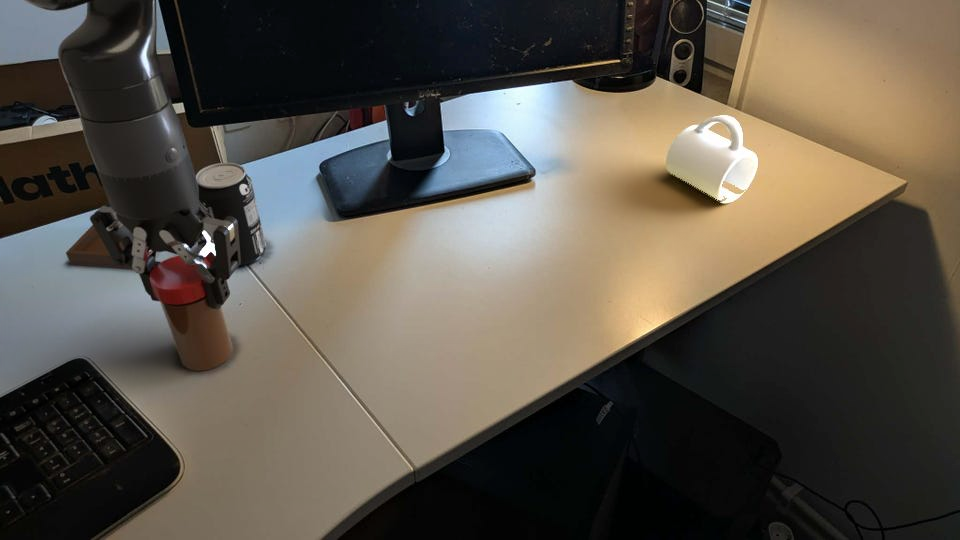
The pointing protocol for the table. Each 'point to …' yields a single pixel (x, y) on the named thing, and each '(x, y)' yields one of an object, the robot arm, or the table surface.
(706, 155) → the mug
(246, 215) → the beverage can
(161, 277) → the jar lid
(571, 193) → the table surface
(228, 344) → the jar
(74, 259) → the tray
